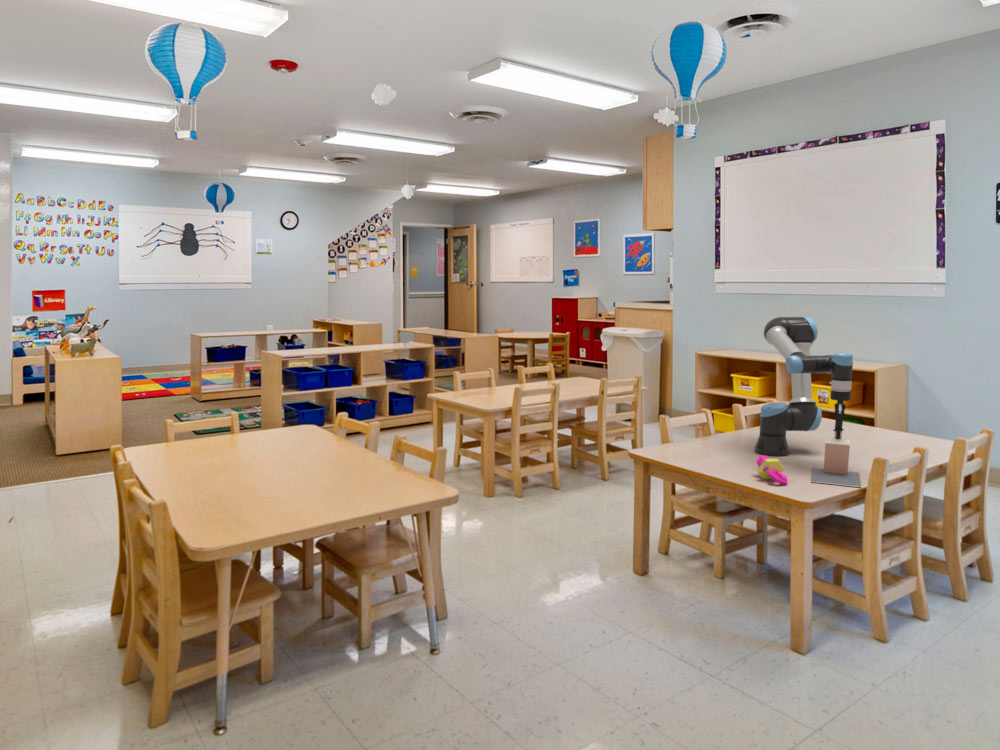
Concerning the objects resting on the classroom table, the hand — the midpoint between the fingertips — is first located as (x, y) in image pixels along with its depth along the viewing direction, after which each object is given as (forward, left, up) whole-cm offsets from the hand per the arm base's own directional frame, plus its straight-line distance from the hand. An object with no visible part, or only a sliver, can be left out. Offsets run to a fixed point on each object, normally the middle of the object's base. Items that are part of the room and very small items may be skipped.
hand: (837, 446), depth 292 cm
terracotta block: (0, 0, -11) cm, 11 cm away
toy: (+21, -24, -12) cm, 34 cm away
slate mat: (+8, 0, -12) cm, 14 cm away
